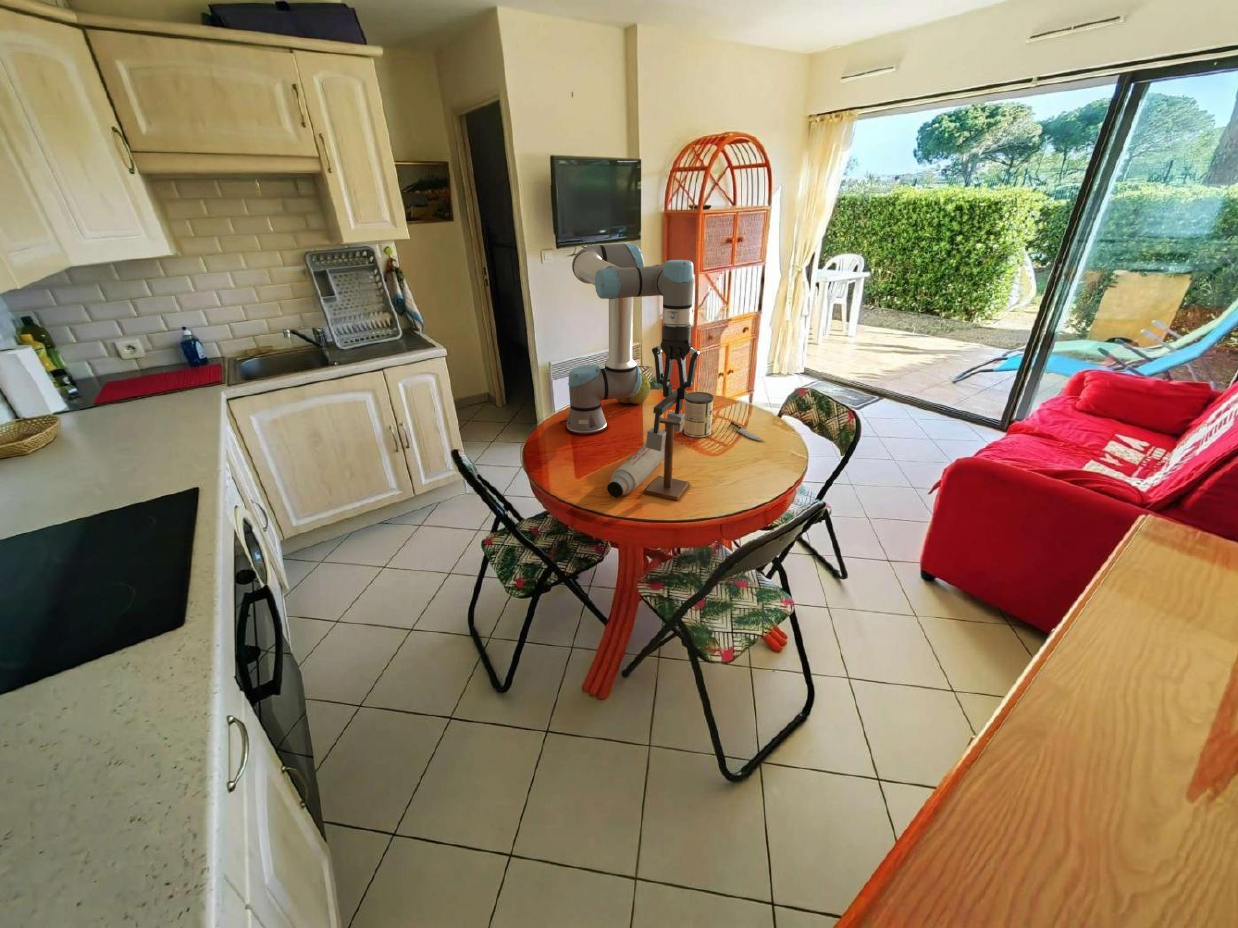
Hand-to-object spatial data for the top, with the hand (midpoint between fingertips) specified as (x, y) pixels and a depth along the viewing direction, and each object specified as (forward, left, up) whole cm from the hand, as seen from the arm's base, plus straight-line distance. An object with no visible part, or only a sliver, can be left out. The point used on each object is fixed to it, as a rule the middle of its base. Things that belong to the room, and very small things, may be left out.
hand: (674, 408), depth 143 cm
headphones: (-1, -4, -8) cm, 9 cm away
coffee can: (-6, +42, -25) cm, 49 cm away
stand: (0, -3, -24) cm, 25 cm away
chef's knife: (+10, +48, -24) cm, 54 cm away
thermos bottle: (-10, +11, -20) cm, 26 cm away
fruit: (-42, +61, -25) cm, 79 cm away
